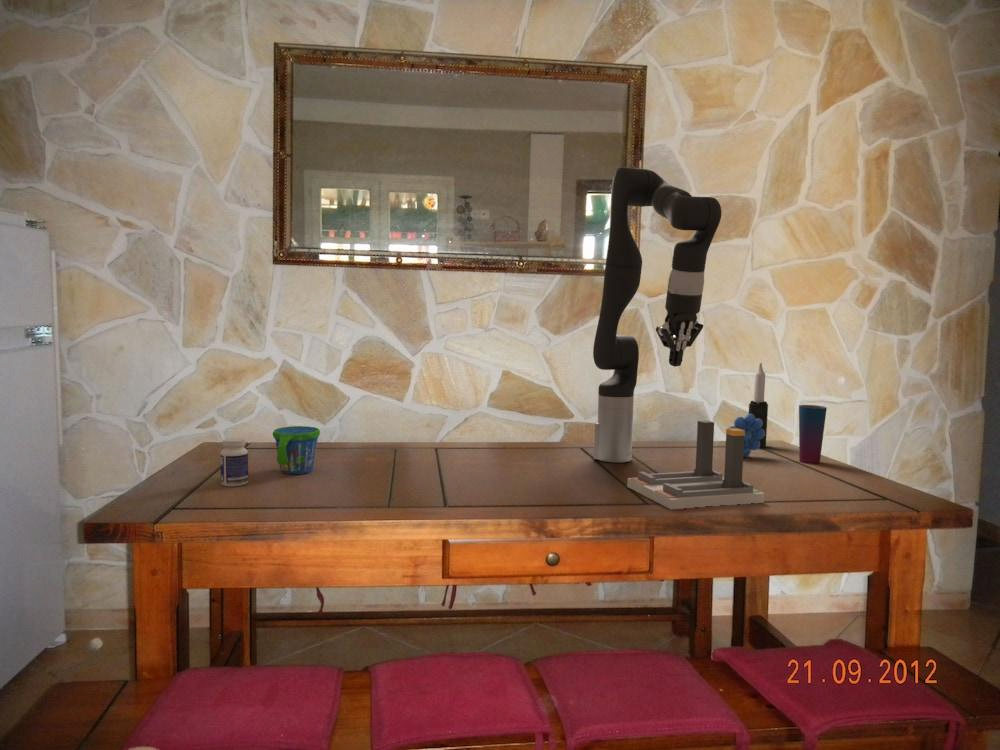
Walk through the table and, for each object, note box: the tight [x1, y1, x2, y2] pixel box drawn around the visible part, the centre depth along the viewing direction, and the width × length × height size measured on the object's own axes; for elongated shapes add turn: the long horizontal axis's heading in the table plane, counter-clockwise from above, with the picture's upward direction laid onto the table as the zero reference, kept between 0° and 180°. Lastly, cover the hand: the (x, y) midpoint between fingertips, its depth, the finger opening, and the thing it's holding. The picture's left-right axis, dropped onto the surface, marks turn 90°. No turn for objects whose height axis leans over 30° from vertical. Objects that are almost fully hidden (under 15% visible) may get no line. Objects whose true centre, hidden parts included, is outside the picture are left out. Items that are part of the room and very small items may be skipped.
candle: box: [748, 362, 769, 449], centre depth 215 cm, size 5×5×25 cm
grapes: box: [724, 413, 765, 458], centre depth 200 cm, size 12×7×12 cm, turn 102°
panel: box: [627, 420, 765, 510], centre depth 157 cm, size 22×19×15 cm
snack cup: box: [272, 425, 321, 475], centre depth 172 cm, size 16×10×10 cm
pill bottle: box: [219, 437, 249, 487], centre depth 159 cm, size 6×6×10 cm
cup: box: [798, 404, 828, 464], centre depth 194 cm, size 7×7×15 cm
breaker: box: [722, 428, 745, 488], centre depth 153 cm, size 3×3×13 cm
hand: (674, 365), depth 164 cm, fingers closed
